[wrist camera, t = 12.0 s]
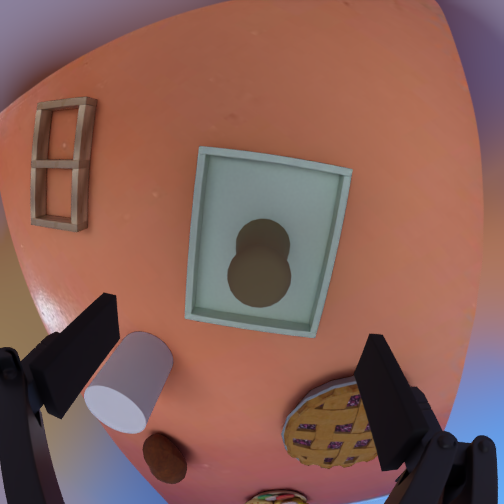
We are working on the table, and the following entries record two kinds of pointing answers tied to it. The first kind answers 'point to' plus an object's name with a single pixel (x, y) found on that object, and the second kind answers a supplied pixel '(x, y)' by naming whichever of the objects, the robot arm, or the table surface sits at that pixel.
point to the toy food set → (278, 498)
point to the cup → (130, 383)
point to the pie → (330, 427)
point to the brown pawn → (260, 264)
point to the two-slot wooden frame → (62, 163)
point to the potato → (164, 459)
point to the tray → (265, 207)
